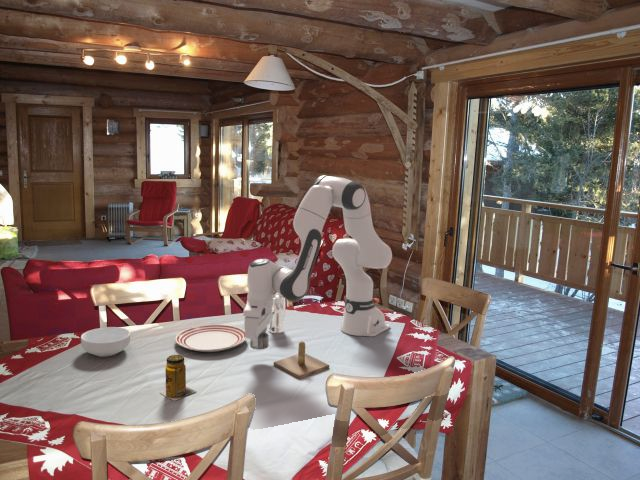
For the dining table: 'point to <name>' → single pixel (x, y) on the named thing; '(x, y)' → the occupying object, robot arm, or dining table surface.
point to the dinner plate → (211, 337)
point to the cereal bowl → (105, 341)
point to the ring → (261, 341)
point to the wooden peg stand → (301, 364)
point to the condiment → (176, 378)
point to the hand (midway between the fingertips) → (259, 341)
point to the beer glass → (277, 313)
